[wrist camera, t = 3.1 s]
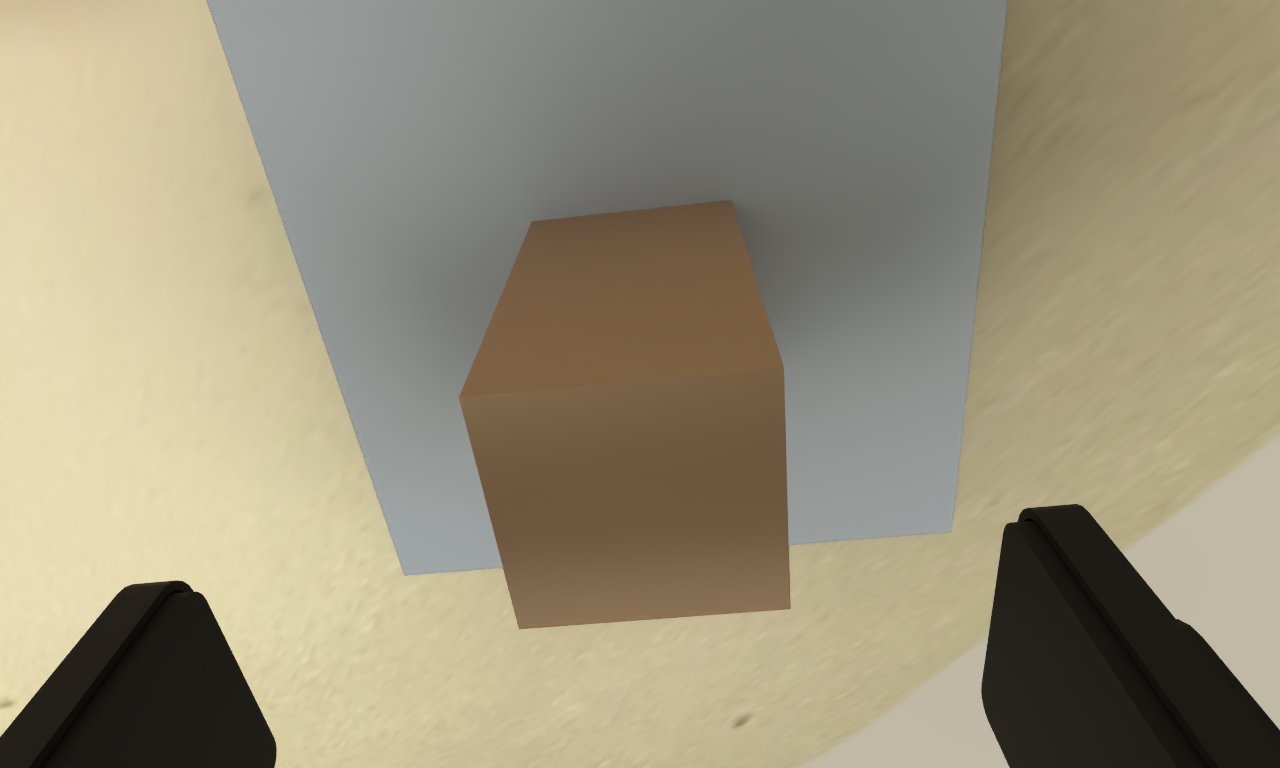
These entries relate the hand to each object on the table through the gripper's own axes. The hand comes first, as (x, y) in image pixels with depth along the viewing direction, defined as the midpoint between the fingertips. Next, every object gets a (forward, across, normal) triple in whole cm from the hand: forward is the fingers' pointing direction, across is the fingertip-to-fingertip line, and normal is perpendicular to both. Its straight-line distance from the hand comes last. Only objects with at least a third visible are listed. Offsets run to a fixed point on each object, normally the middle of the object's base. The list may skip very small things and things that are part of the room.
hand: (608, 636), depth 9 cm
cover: (+10, 0, -1) cm, 10 cm away
